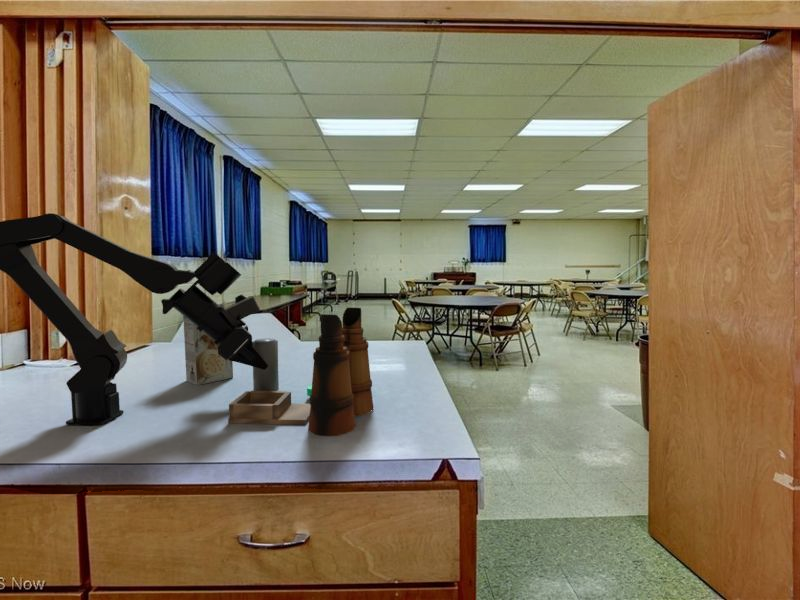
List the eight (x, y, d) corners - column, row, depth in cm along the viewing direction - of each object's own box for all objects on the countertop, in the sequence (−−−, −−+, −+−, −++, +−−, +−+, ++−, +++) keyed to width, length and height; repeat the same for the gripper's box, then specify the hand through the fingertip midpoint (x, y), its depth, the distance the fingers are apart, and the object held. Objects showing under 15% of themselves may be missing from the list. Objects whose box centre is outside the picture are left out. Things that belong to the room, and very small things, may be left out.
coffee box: (221, 373, 113) (220, 312, 112) (233, 378, 109) (232, 314, 108) (185, 380, 106) (182, 315, 105) (196, 385, 102) (193, 317, 101)
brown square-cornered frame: (228, 423, 78) (227, 405, 78) (247, 406, 87) (246, 390, 87) (305, 424, 78) (305, 406, 78) (316, 407, 87) (316, 391, 87)
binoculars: (341, 400, 92) (341, 305, 90) (379, 404, 89) (379, 306, 88) (299, 433, 74) (297, 315, 72) (344, 438, 72) (343, 317, 70)
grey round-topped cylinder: (249, 404, 89) (248, 342, 88) (258, 396, 94) (257, 337, 93) (274, 404, 89) (273, 342, 87) (282, 397, 94) (281, 338, 93)
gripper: (235, 284, 78) (299, 341, 83) (232, 280, 96) (285, 327, 101) (188, 330, 76) (257, 386, 81) (194, 318, 93) (250, 364, 98)
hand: (264, 362), depth 90 cm, fingers open, 9 cm apart
